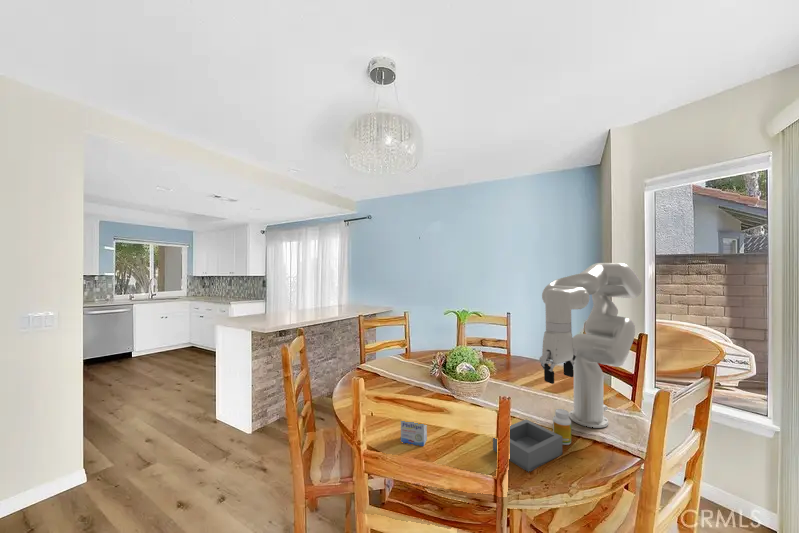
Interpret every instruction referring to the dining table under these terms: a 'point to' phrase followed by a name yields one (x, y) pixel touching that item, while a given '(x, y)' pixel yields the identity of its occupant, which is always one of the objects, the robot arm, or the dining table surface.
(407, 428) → the medicine box
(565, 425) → the supplement bottle
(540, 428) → the box
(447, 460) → the dining table surface
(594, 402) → the robot arm
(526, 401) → the dining table surface
